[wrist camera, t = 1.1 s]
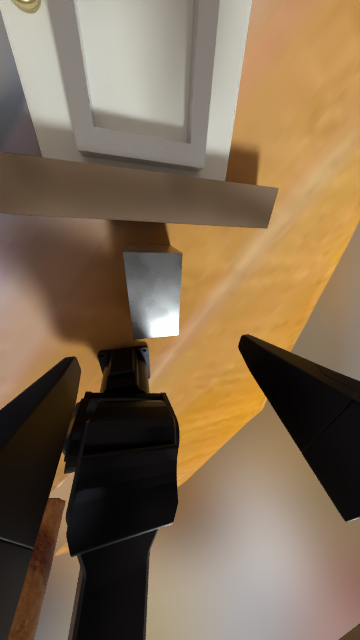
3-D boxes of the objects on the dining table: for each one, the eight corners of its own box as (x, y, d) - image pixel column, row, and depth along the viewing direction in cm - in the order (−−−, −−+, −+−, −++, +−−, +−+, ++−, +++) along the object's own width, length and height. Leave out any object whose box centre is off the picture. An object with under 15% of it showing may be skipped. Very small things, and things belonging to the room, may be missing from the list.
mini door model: (220, 189, 15) (230, 185, 14) (50, 169, 12) (36, 160, 10) (269, -166, 8) (304, -266, 6) (-124, -463, 5) (-259, -823, 3)
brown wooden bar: (248, 227, 18) (267, 228, 15) (4, 213, 13) (-27, 211, 10) (256, 193, 16) (278, 188, 14) (-18, 161, 11) (-62, 143, 8)
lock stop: (169, 312, 21) (178, 334, 17) (133, 315, 20) (133, 339, 16) (170, 245, 17) (182, 253, 13) (125, 244, 16) (122, 252, 12)
